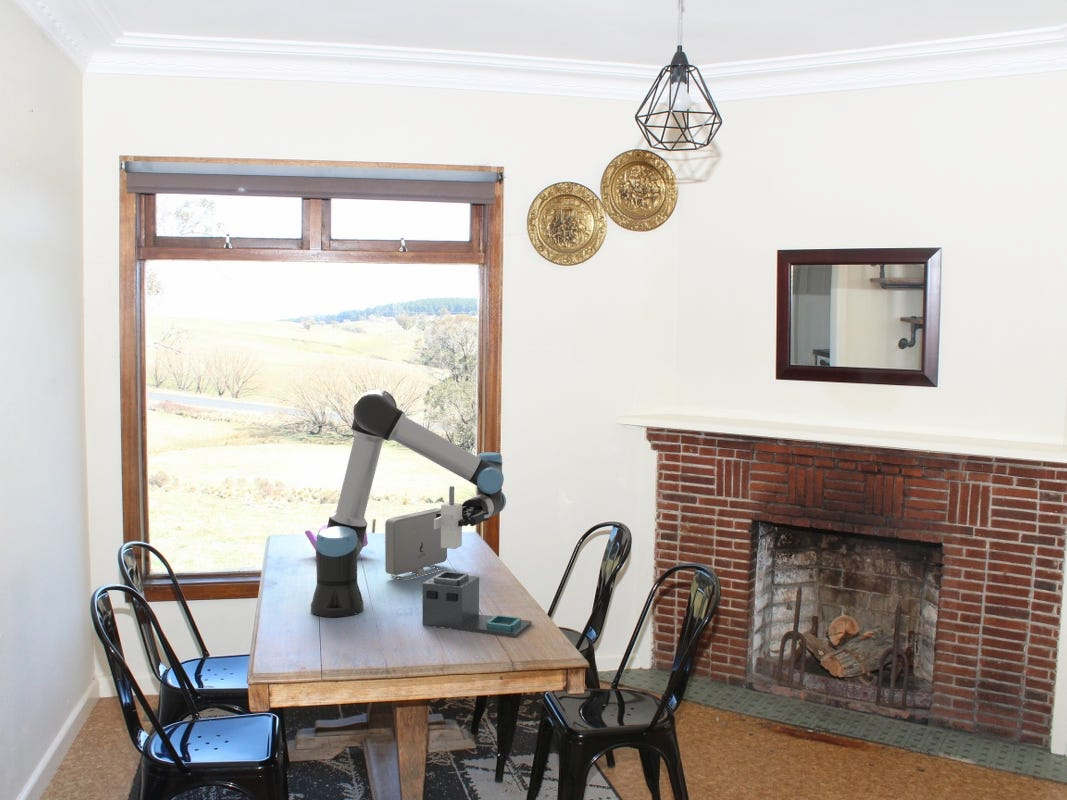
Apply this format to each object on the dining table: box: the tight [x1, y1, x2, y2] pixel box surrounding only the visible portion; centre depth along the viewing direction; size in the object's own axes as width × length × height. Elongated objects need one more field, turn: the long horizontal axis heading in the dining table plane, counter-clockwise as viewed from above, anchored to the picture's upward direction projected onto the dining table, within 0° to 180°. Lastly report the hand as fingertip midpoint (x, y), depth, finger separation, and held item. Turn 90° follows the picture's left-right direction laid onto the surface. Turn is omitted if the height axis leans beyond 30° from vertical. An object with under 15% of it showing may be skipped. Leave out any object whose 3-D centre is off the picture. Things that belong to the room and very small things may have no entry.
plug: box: [440, 485, 463, 550], centre depth 277 cm, size 5×4×17 cm
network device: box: [384, 507, 448, 580], centre depth 331 cm, size 26×9×20 cm, turn 143°
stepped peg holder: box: [421, 570, 532, 638], centre depth 277 cm, size 13×28×13 cm, turn 70°
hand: (443, 525), depth 273 cm, fingers closed on plug, 4 cm apart
